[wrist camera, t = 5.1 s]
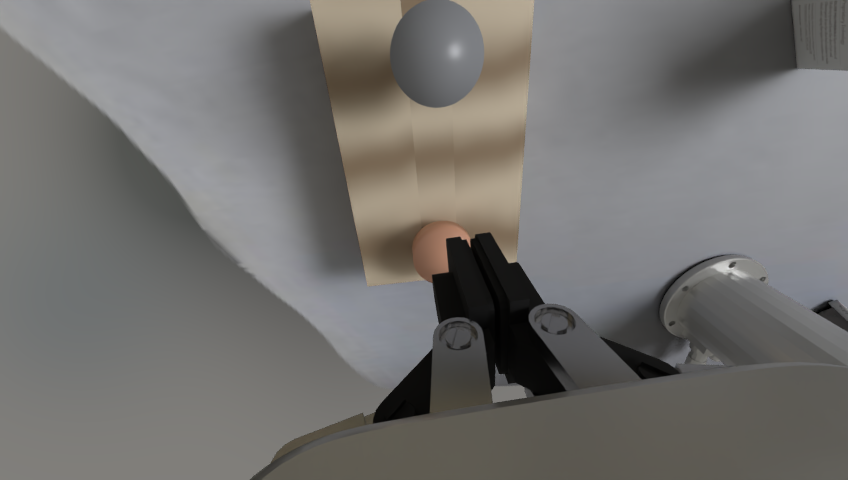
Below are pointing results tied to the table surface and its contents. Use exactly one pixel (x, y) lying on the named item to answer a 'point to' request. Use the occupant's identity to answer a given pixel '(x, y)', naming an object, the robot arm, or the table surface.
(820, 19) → the skincare box
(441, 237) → the terracotta button
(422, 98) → the grey button
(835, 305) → the electrical switch
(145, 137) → the table surface
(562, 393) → the robot arm
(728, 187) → the table surface
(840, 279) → the table surface
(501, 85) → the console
